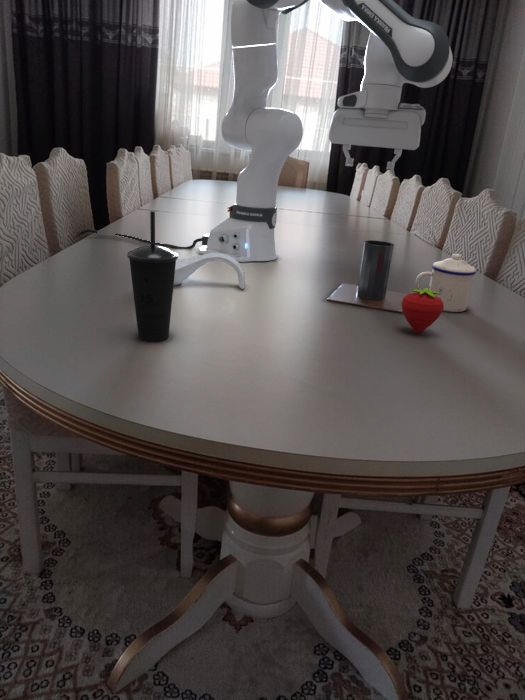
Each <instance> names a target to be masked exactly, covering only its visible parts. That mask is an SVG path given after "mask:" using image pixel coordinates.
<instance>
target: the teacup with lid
mask: <svg viewBox="0 0 525 700" xmlns="http://www.w3.org/2000/svg"><path fill="white" fill-rule="evenodd" d="M462 257H463V256H462V254H460V253H453V254H451V257H447V258H445V259H443V260H439V261H435V262H433V264H432V265H431V268H432V271H423V272H420V273H419V274H418V275H417V276H416V279H415V286H416V289H419V290H423V288H421V285H420V280H421V279H422V278H423V277H424V276H430V279H429V280H430V281H429V285H430V289H429V288H428V289H429V290H431V291H433V292H437V293H440V294H441V295H437V294H434V295H435V296H437V297H439V298H441V300H442V301H443V306H444V309H443V311H442V312H447V313H461V312H464V311H466V310H467V308H468V303H469V299H470V295H471V291H472V286H473V283H474V279H475V278H474V277H475V275H476V274H477V269H476V267H474V266H473V265H470V264H469V263H468V262H467V261H466V260H464V259H462ZM423 291H424V290H423Z"/></svg>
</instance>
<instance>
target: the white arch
mask: <svg viewBox="0 0 525 700" xmlns="http://www.w3.org/2000/svg"><path fill="white" fill-rule="evenodd" d="M213 261H220V262H223V263H226V264H228V265H229V266H231V267H232V268H233V269H234V270H235V272H236V274H237V278H238V285H239V288H240V289H241V290H244V289H245V287H246V275H245V271H244V268H243V266H242V265H241V264H240V262H239V261H236V260H235V259H234V258H232V257H230V256H228V255H225V254H222V253H208V254H200V255H195V256H192V257H187V258H186V257H185V258H178V259H177V260H176V266H175V276H174V286H178V285H180V284H183V282H184V281H185V280H187V279H188V278H189V277H190V276H191V275H192V274H193V273H194V272H196V271H197V270H199V268H201V267H202V266H204V265H206V264H207V263H209V262H213Z"/></svg>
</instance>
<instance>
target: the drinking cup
mask: <svg viewBox="0 0 525 700" xmlns="http://www.w3.org/2000/svg"><path fill="white" fill-rule="evenodd" d="M149 213H150V215H149V216H150V222H149V223H150V225H149V226H150V227H149V228H150V241H151V244H148V245H142V246H139V247H137V248H134V249H132V250H130V251H128V252H127V253H126V256H127V258H128V259H129V267H130V275H131V283H132V284H131V285H132V292H133V303H134V310H135V318H136V327H137V335H138V338H139V340H141V341H143V342H149V343H157V342H164V341H166V340H168V339H169V335H170V325H171V315H172V306H173V305H172V304H173V296H174V286H175V285H174V276H175V266H176V260H177V259H179V254H178V253H177V252H174V251H172V250H171V249H169V248H168V247H163V246H157V245H155V242H156V211H150V212H149Z"/></svg>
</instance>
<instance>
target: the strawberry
mask: <svg viewBox="0 0 525 700" xmlns="http://www.w3.org/2000/svg"><path fill="white" fill-rule="evenodd" d="M427 283H428V287H424V288H422V290H419V289H417V288H411V292H410V293H407V294H408V295H406V296H405V297H404V298H403V300H402V303H401V304H402V311H403V312H402V314H403V315H404V318H405V319H406V321H407V323H408V325H410V327H411V329H412V331H413V332H414V333H416V334H421V333H423V332H424V331H425V330H426V329H428V328H429V327H431V326H432V325H433V324H434V323H435V322H436V321H437V320H438V319H439V318H440V317H441V314H442V312H444V311H443V309H444V306H443V301H442V300H441V298H439V297H437V296H435V295H434V294H437V295H441V294H440V293H437V292H433V291H431V290H429V289H430V281H429V280H427ZM423 290H424V291H423Z"/></svg>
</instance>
